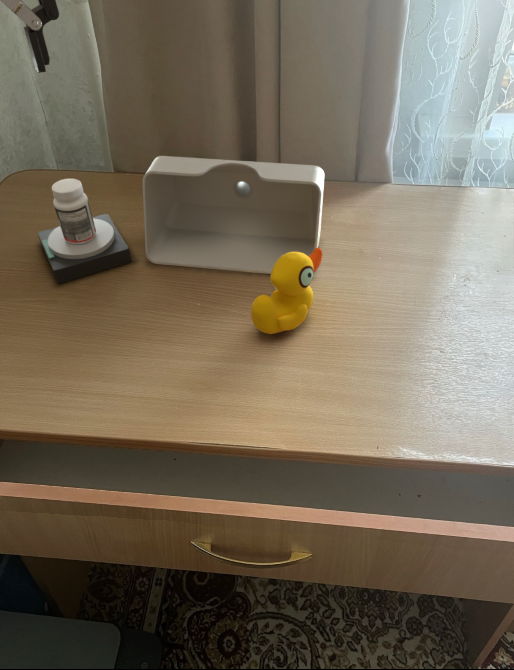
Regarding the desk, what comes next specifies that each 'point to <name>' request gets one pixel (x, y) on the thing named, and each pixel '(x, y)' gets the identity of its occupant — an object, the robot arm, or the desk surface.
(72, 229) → the pill bottle
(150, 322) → the desk surface
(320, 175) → the tank
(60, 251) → the scale
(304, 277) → the duckling
